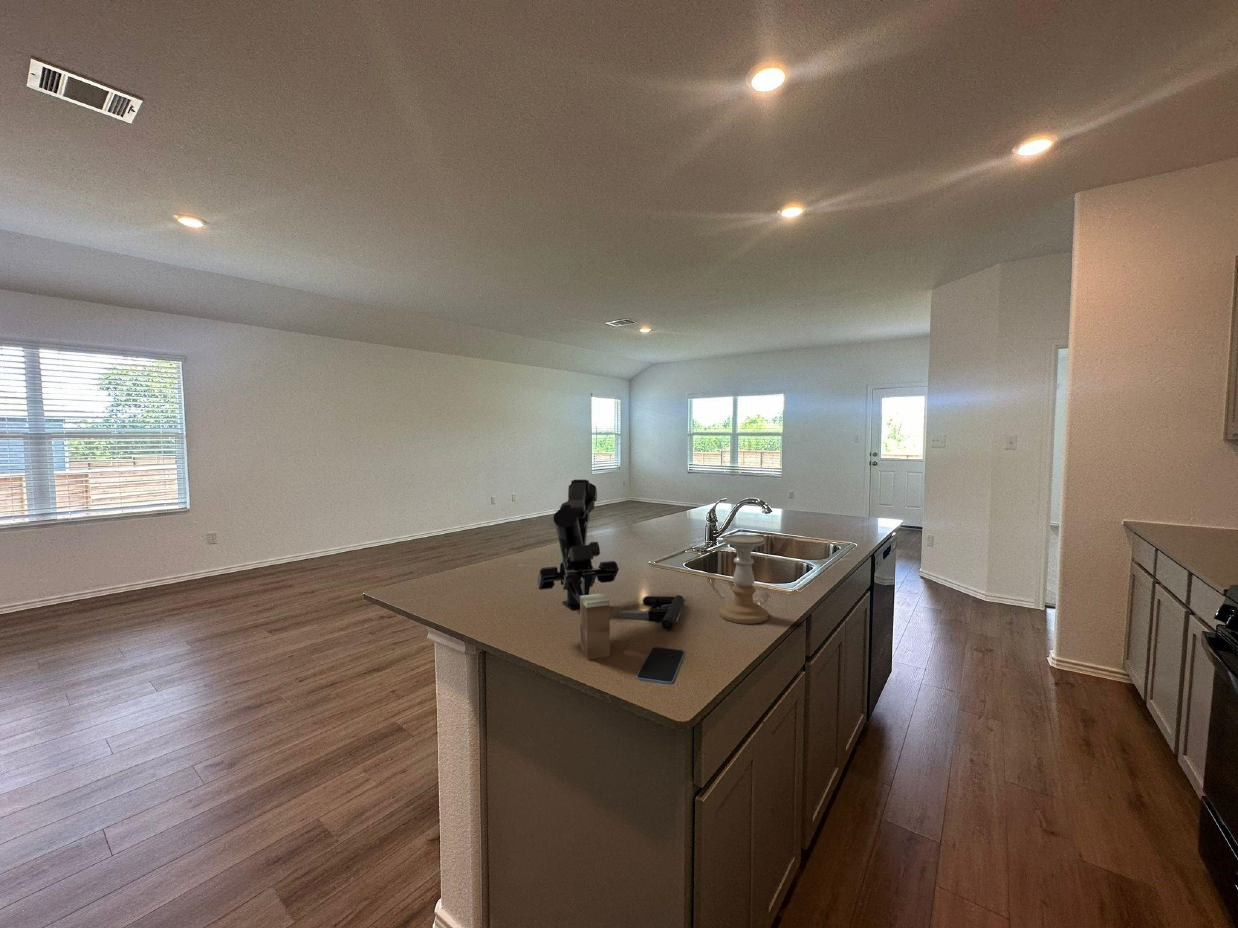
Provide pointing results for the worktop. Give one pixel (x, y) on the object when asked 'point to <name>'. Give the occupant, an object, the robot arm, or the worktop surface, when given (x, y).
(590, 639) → the beige wooden block
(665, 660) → the smartphone
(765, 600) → the worktop surface
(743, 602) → the candle holder
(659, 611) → the door handle
